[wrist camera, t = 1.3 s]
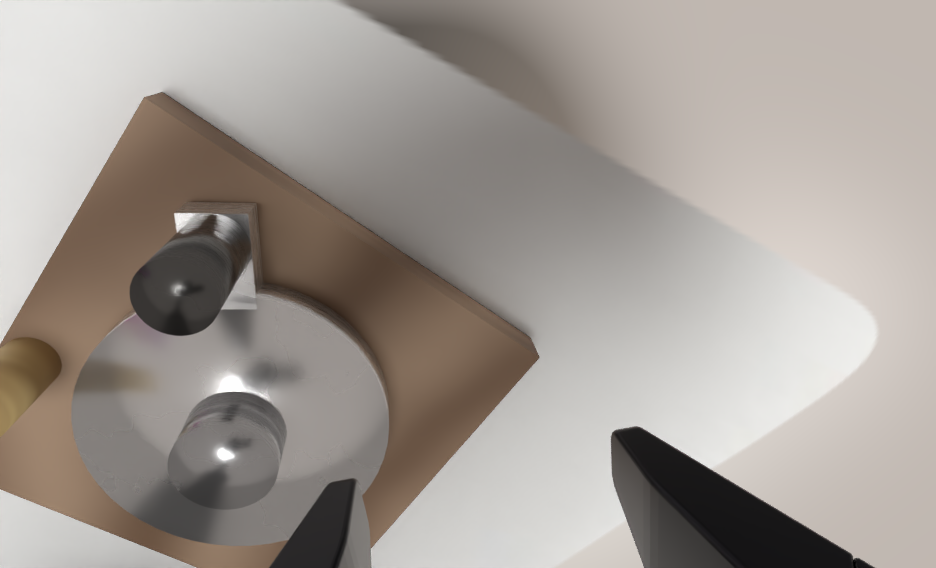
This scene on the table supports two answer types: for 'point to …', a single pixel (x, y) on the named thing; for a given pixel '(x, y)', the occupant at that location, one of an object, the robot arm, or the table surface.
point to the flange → (226, 392)
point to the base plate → (283, 263)
